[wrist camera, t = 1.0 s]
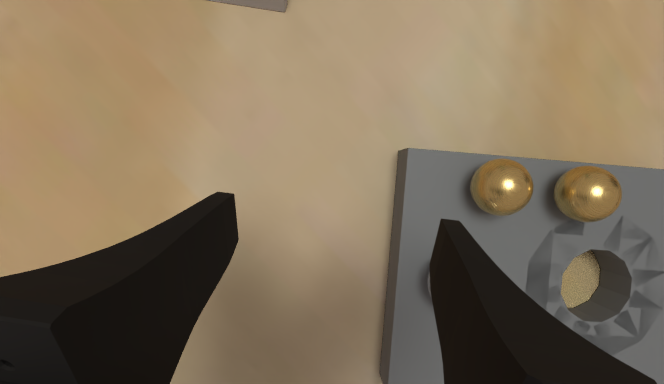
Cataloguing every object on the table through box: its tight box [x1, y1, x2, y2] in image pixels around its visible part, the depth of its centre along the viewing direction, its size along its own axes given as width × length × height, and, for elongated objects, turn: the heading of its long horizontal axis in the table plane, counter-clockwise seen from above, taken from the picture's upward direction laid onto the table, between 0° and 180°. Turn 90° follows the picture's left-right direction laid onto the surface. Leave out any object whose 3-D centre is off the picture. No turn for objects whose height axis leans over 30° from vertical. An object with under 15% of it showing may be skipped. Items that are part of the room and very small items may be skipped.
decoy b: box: [554, 166, 622, 222], centre depth 21 cm, size 3×3×3 cm
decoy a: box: [470, 159, 533, 216], centre depth 21 cm, size 3×3×3 cm
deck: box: [380, 148, 664, 384], centre depth 24 cm, size 18×15×2 cm
